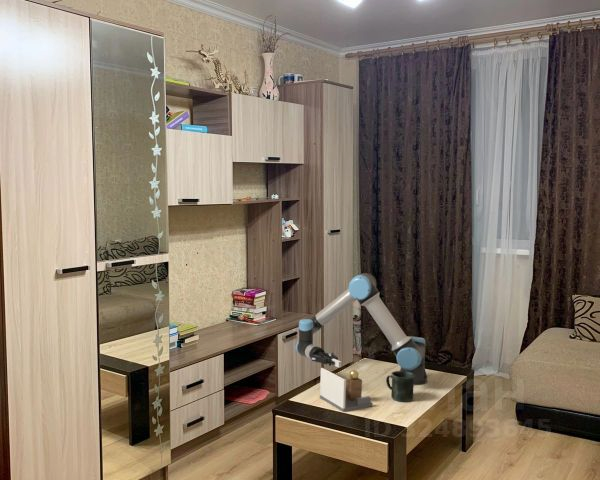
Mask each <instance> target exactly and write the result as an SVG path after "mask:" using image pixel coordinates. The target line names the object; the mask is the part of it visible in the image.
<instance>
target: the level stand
mask: <svg viewBox="0 0 600 480" xmlns="http://www.w3.org/2000/svg"><path fill="white" fill-rule="evenodd" d="M319 383H320V384H319V387H320V388H319V389H320V390H319V399H321V400H323V401H324V402H326V403H327V404H330V405H331V406H332V407H334V408H336V409H338V410H339V411H341V412H343V413H344V412H350V411H355V410H361V409H365V408H372V407H373V403H372V402H371V396H370V395H366V396H361V397H360V398H356V400H349V399H347V398H345V394H346V380H345V378H343V377H341V376H339V375H337V374H336V373H333V372H331V371H329V370H327V369H326V368H323V367H321V368H320V381H319Z"/></svg>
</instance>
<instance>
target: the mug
mask: <svg viewBox="0 0 600 480" xmlns="http://www.w3.org/2000/svg"><path fill="white" fill-rule="evenodd" d="M414 377H415V375H414V374H413V373H410V372H406V371H400V370H396V371H392V372H391V374H389V375H387V377H386V378H385V380H386V386H387V388H388V389H389V390H391V393H390V394H391V399H392V400H394V401H397V402H401V403H402V402H403V403H406V402H407V403H408V402H411V401H413V400H414ZM390 378H391V383H390Z"/></svg>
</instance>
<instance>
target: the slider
mask: <svg viewBox="0 0 600 480" xmlns="http://www.w3.org/2000/svg"><path fill="white" fill-rule="evenodd" d="M348 376H349V377H347V378H344V379H345V380H346V394H345V398H347V399H349V400H356V398H360V397H362V394H363V393H362V391H363V390H362V388H363V386H362V385H363V380H362V379H361V378H360V377H359V372H358V370H356V369H352V370H350V371H349V372H348Z"/></svg>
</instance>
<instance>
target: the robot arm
mask: <svg viewBox="0 0 600 480" xmlns="http://www.w3.org/2000/svg"><path fill="white" fill-rule="evenodd" d="M380 293H381V292H380V291H379V289H378V288H377V280H376V278H375V277H374V276H373V275H372V274H371V273H368V272H363V273H360V274H357V275H355V276H353V278H351V280H350V281H349V283H348V288H347V289H346V290H344V291H343V292H342V293H341V294H339V295H338V296H337V297H336V298H335V299H333V300H332V301H331V302H330V303H329V304H327V305H326V306H325V307H324V308H322V309H321V310H320V311H318V312H317V313H316V314H315V315H313V317H311V318H310V319H309V318H303V319H300V320H299V321H298V341H297V342H296V344H295V351H296V352H297V354H299V355H300V356H301V357H304V358H307V359H309V360H311V361H312V362H315V363H320V364H323V365H328V366H335V367H336V368H340V369H341V368H342V361H341V360H339V358H338V356H336V354H334V352H331V353H328V352H327V351H326V352H325V350H324V348H322V347H320V346H318V345H315V344H314V334H316V333H317V332H319V331H320V330H321V329H322V328H323V327H325V325H327V324H329V322H331V321H333V319H335V318H336V317H337V316H339V315H340V313H342V312H344V310H346V309H348V308H349V306H351V305H352V304H354V303H355V302H356V301H357V302H358V303H359V305H360V306H362V307H365V308H366V310H367V311H368V313H369V314H370V315H371V317H372V318H373V320H374V321H375V322H376V324H377V325H378V327H379V328H380V330H381V332H382V333H383V334H384V336H385V337H386V339H387V341H389V343H390V345H391V351H392V352H393V354H394V355H395V357H396V362H397V365H398V366H399V367H400V370H399V371H406V372H410V373H413V374H414V375H415V377H414V385H416V386H417V385H424V384H426V383H428V375H427V374H428V373H427V371H426V368H425V363H426V362H425V357H426V354H425V353H426V339H425V338H423V337H418V336H411V335H409V336H407V334H406V333H405V332H404V331H403V329H402V328H401V327H400V325H399V324H398V322H397V320H396V319H395V318H394V316H393V315H392V314H391V312H390V310H389V309H388V307H387V306H386V305H385V304H384V302H383V301H382V298H381V297H380Z"/></svg>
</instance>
